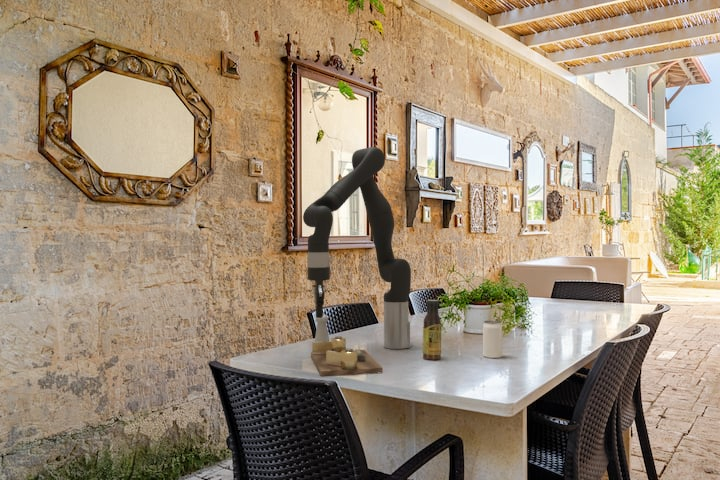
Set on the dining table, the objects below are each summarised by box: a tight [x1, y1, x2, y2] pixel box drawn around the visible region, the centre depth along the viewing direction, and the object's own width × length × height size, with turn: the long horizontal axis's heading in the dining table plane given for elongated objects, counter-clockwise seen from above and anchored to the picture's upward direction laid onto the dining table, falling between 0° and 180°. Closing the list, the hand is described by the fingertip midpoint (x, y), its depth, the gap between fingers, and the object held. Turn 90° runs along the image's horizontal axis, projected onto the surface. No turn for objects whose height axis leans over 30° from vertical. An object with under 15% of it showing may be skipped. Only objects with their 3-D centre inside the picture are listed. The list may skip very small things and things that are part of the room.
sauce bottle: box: [422, 299, 443, 361], centre depth 200 cm, size 6×6×20 cm
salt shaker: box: [314, 314, 331, 342], centre depth 215 cm, size 6×6×13 cm
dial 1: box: [311, 335, 347, 353], centre depth 202 cm, size 12×5×6 cm, turn 95°
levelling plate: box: [310, 348, 383, 377], centre depth 193 cm, size 19×29×5 cm, turn 11°
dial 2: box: [326, 348, 357, 369], centre depth 183 cm, size 12×5×6 cm, turn 51°
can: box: [482, 320, 503, 359], centre depth 202 cm, size 6×6×12 cm
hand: (319, 317), depth 198 cm, fingers closed
